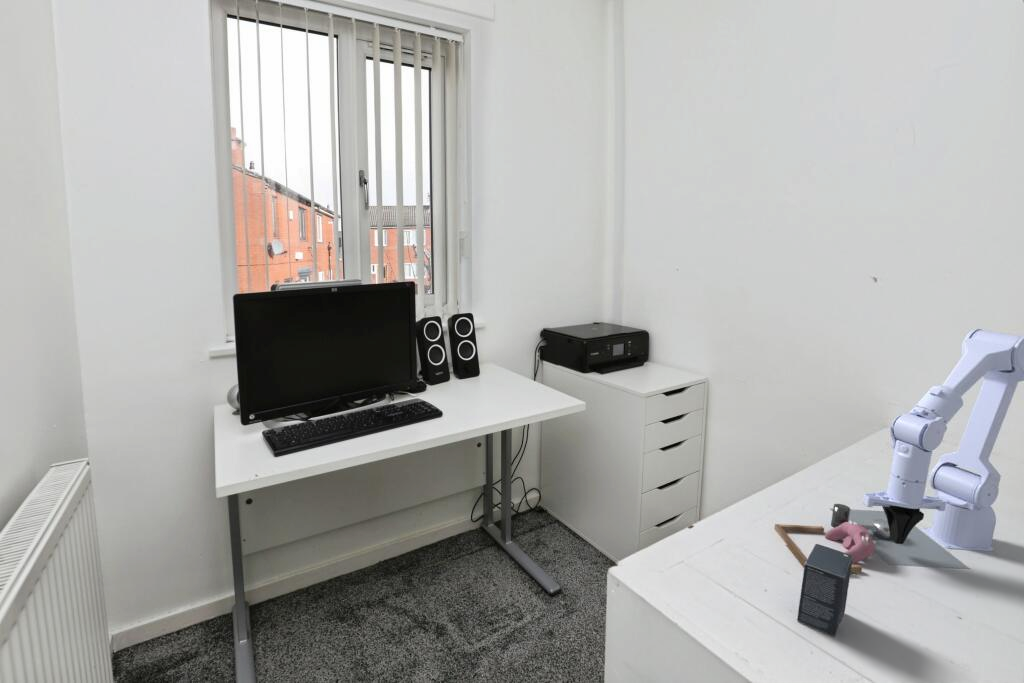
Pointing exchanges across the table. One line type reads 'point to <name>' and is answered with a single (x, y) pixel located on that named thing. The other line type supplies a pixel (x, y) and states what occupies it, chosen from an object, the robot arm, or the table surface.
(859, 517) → the plate
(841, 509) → the crank
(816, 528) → the bay
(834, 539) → the video game controller
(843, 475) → the table surface
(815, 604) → the box
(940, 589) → the table surface
